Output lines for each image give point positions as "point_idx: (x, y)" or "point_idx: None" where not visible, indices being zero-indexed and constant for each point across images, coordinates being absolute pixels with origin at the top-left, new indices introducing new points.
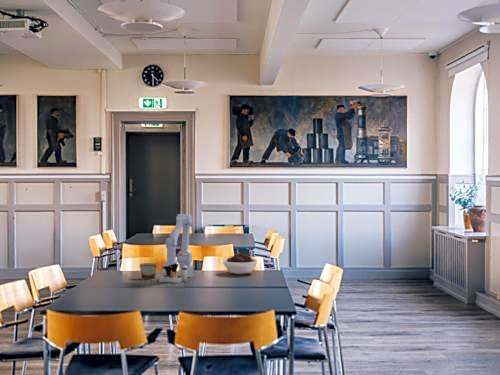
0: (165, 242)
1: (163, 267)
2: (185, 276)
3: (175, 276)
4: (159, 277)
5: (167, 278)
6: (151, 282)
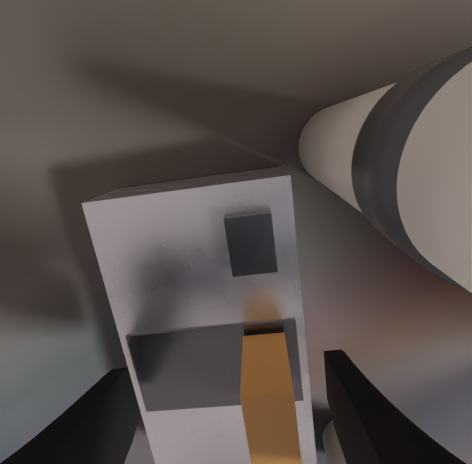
0: None
1: (367, 181)
2: None
3: (302, 400)
4: (84, 210)
5: (128, 349)
6: (5, 111)
